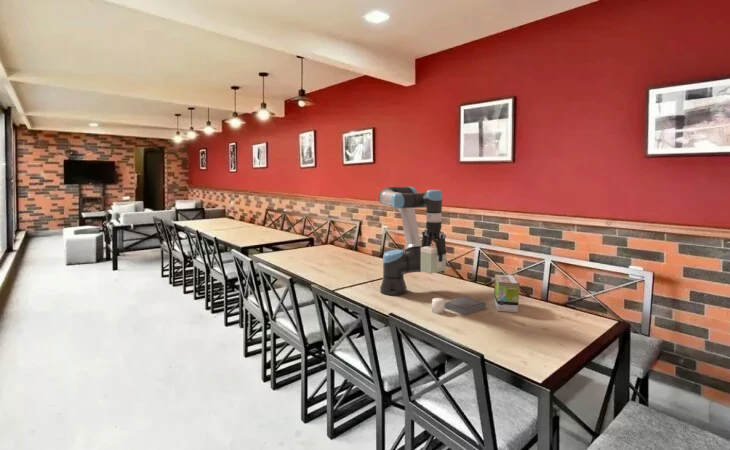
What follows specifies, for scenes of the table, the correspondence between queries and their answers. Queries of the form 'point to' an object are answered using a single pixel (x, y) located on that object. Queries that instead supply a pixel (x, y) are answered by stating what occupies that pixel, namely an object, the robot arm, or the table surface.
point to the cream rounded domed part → (438, 305)
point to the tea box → (506, 293)
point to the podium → (465, 305)
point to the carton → (431, 260)
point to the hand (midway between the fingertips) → (433, 266)
